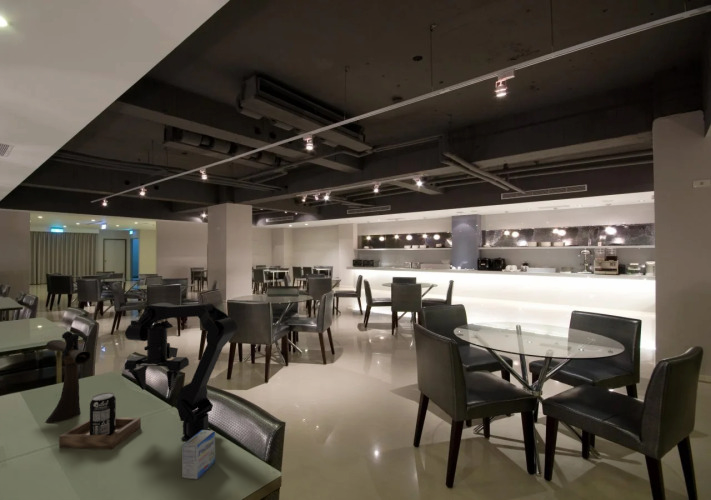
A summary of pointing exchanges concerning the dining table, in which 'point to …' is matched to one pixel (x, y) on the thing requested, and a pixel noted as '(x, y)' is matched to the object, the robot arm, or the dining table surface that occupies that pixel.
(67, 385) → the flared trumpet-armed statue
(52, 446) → the dining table surface
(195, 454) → the medicine box
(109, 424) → the beverage can
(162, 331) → the robot arm
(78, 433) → the tray
